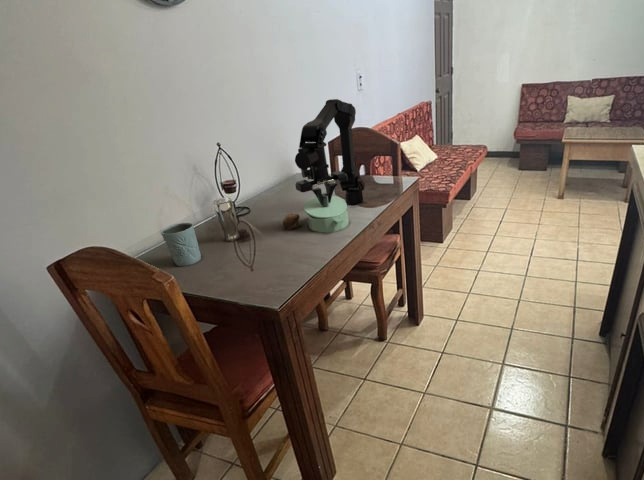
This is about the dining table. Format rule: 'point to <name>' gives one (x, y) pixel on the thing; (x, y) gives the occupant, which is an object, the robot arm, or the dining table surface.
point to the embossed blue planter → (182, 243)
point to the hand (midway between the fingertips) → (325, 203)
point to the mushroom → (291, 221)
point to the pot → (328, 223)
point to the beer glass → (227, 218)
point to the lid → (325, 207)
